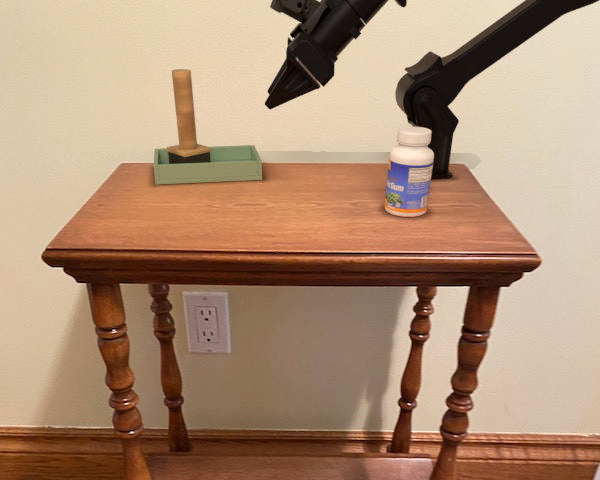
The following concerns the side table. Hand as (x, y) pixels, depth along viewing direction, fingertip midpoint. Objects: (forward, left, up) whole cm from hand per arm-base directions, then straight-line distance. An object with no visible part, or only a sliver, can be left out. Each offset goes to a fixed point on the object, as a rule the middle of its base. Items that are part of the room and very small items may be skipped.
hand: (268, 100), depth 87 cm
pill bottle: (-15, +19, -10) cm, 26 cm away
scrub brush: (+12, -2, -9) cm, 15 cm away
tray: (+9, -2, -10) cm, 14 cm away
